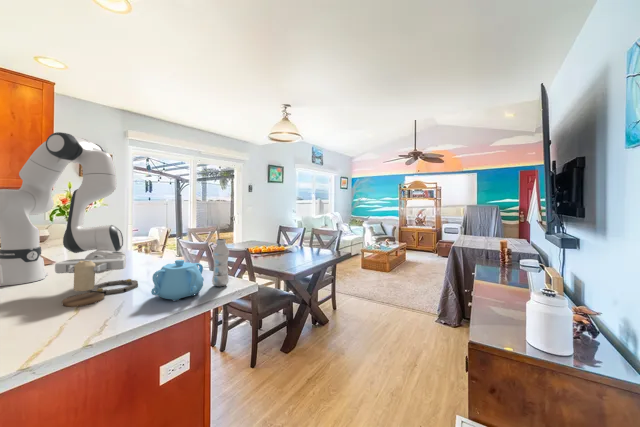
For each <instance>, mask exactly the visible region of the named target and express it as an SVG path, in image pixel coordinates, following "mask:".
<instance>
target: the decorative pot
mask: <svg viewBox="0 0 640 427" xmlns="http://www.w3.org/2000/svg"><path fill="white" fill-rule="evenodd" d="M174 262H175V263H167V264H165V265H163V266H162V267H161V268H160V269H159V270H156V271H155V272H154V273H153V274H152V279H151V280H152V282H153V285H154V287H153V288H152V289H151V291H150V293H151V295H152V296H158V297H160V298H162V299H165V300H171V301H172V300H178V301H180V300H181V299H183V298H187V297H192V296H191V295H194V294H196V295H197V294H198V293H199V292H200V291H201V290H202V288H203V286H204V277H203V275H202V274H203V270H204V267H203V264H201V263H199V262H195V263H193V262H188V261H187V262H186V261H185V260H184V259H175V260H174ZM194 296H195V295H194ZM179 299H180V300H179Z"/></svg>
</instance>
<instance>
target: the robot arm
mask: <svg viewBox="0 0 640 427" xmlns="http://www.w3.org/2000/svg"><path fill="white" fill-rule="evenodd" d="M70 163H73V164H79V165H81V168H82V181H81V183H80V186H79V187H78V188H77V189H75V190H73V193H72V195H71V200H70V205H69V209H68V215H67V216H68V218H67V223H66V227H65V232H64V234H63V238H62V244H63V247H64V248H65V249H66V250H68V251H69V252H71V253H74V254H79V253H83V252H87V251H88V252H89V251H91V252H89V254H87V255H86V256H85V258H78V259H77V258H76V259H75V258H74V259H66V260H62V261H59V262H56V263H55V264H54V272H55V273H56V274H74V266H75V265H76V264H77V263H78V262H79V261H92V262H93V263H95V266H94V267H93V269H94V270H93V271H94V272H95V274H96V275H98V274H103V273H105V272H110V271H115V270H116V271H117V270H123V269H125V268H126V265H127V261H126V260H127V258H126V257H127V256H126V253H125V252H123V249H122V248H123V246H124V238H123V237H124V236H123V233H122V231H121V230H120V229H119V228H118V227H117V226H115V225H114V224H110V225H109V224H108V225H107V224H105V225H99V226H88V227H83V226H84V222H85V221H84V220H85V214H86V209H87V207H88V206H89V205H91V204H92V203H95V202H97V201H99V200H102V199H105V198H106V197H108V196H110V195H112V194H113V193H114V192H115V191H116V187H117V174H116V167H115V164H114V161H113V157H112V156H111V155H110V153H108V152H107V151H106V150H105V149H104V147H102V146H101V145H99V144H97V143H94V142H92V141H91V140H88V139H86V138H83V137H79V136H76V135H72V134H70V133H68V132H67V133H66V132H58V131H57V132H53V133H51V134H50V135H49V136H48V137H47V138H46V141H44V142H43V143H41V145H39V146H37V148H36V149H35V150H34V151H33V153H32V154H31V155H30V156H29V158H28V159H27V161H26V162H25V163H24V164H23V165H22V167H21V169H20V170H19V172H18V175H19V177H20V179H21V180H22V183H21V187H20V188H18V189H9V188H8V189H6V188H3V189H0V287H4V286H14V285H21V284H22V285H23V284H29V283H34V282H38V281H41V280H43V279H46V277H47V276H48V275H49V274H48V272H46V269H45V262H44V258H43V257H42V256H41V255H42V247H41V246H40V243H41V242H40V240H41V239H40V238H41V237H40V229H39V228H38V226H35V225H34V224H33V223H32V220H31V219H30V216H38V215H41V214H44V213H48V212H50V211H51V210H52V209H53V208H54V205H55V204H54V199H53V197H52V192H53V188H54V186H55V184H56V183H57V181H58V179H59V178H60V177H61V175H62V174H63V172H64V171H65V169H66V167H67V165H69V164H70Z"/></svg>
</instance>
